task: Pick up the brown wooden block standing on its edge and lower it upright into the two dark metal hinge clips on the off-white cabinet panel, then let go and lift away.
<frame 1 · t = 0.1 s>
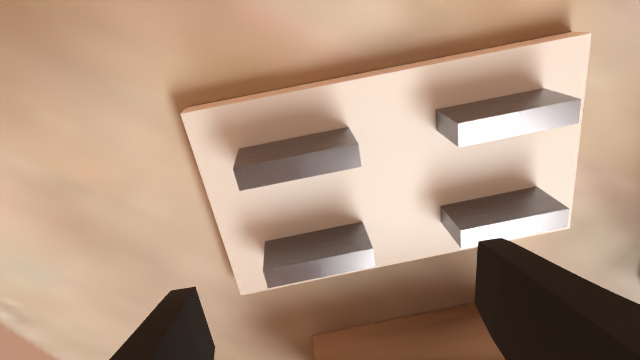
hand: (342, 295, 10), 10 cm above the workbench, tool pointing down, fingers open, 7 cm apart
hinge clips: (405, 188, 17), on the cabinet panel, point 2 cm above the workbench
cabinet panel: (391, 168, 20), on the workbench
brown wooden block: (408, 331, 24), on the workbench
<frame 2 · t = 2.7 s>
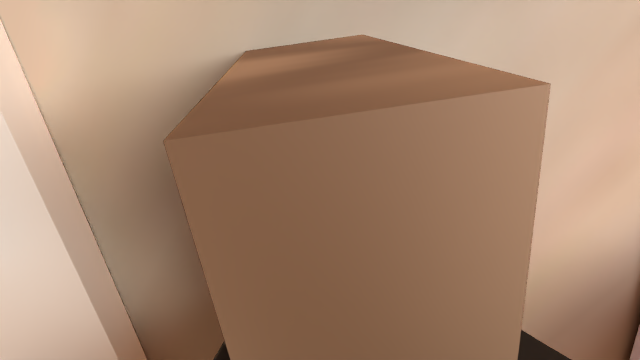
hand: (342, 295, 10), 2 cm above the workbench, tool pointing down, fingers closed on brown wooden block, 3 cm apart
brown wooden block: (332, 251, 12), on the workbench, touching gripper
when the fingers open (5 cm above the workbench, at t = 6.0 s): brown wooden block stays where it is, resting on cabinet panel.
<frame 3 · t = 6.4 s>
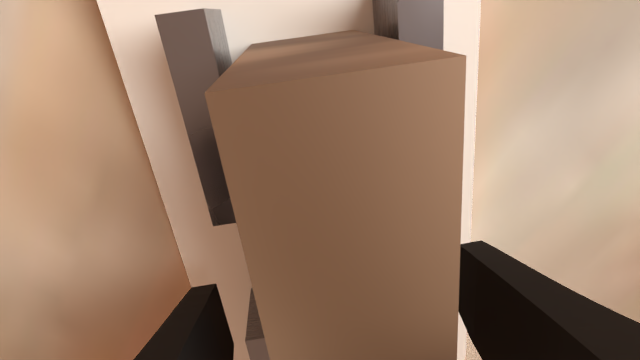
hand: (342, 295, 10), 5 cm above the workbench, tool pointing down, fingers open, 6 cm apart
hinge clips: (331, 247, 12), on the cabinet panel, point 2 cm above the workbench
cabinet panel: (324, 210, 14), on the workbench
brown wooden block: (327, 225, 13), point 1 cm above the workbench, touching cabinet panel
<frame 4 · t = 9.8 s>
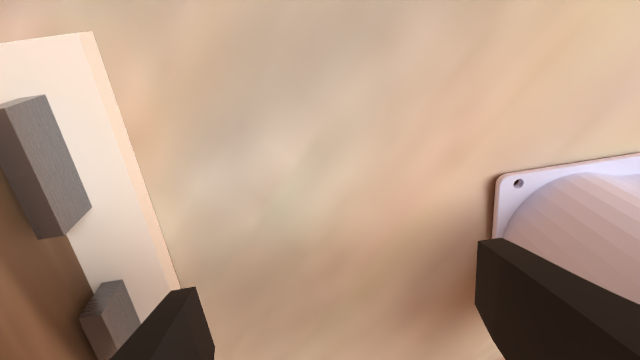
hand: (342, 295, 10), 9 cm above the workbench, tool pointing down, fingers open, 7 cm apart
hinge clips: (26, 271, 17), on the cabinet panel, point 2 cm above the workbench
cabinet panel: (56, 240, 19), on the workbench
brown wooden block: (42, 253, 18), point 1 cm above the workbench, touching cabinet panel
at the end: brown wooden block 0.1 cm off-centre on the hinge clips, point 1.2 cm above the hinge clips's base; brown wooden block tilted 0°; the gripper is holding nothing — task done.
